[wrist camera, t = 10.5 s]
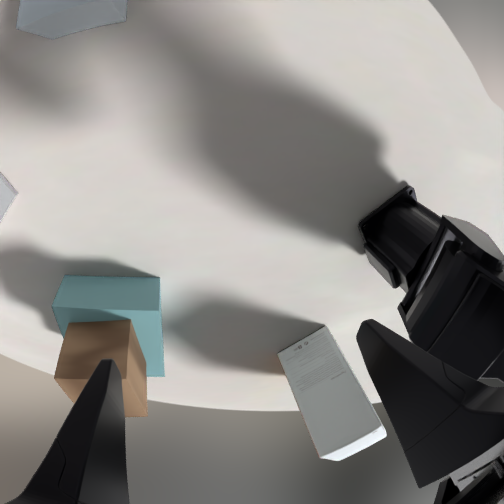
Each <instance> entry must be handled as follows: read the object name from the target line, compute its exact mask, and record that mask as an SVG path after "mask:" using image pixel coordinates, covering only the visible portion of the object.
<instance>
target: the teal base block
mask: <svg viewBox="0 0 504 504" xmlns="http://www.w3.org/2000/svg"><path fill="white" fill-rule="evenodd" d="M52 309H53V312H54V315H55V317H56V320H57V323H58V325H59V328H60V331H61V333H62V336H63V338H64V337H65V333H66V330H67V326H68V323H72V322H95V321H113V320H128V319H131V321H132V324H133V327H134V330H135V333H136V336H137V338H138V341H139V344H140V347H141V350H142V352H143V355H144V358H145V360H146V376H147V377H165V373H164V351H163V334H162V318H161V296H160V278H158V277H108V276H76V275H65V276H64V278H63V280H62V283H61V285H60V287H59V290H58V292H57V294H56V297H55V299H54V302H53V304H52Z"/></svg>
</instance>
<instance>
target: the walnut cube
mask: <svg viewBox="0 0 504 504" xmlns="http://www.w3.org/2000/svg"><path fill="white" fill-rule="evenodd" d="M109 358H111V359H113V360H114V361H115V363H116V365H117V367H118V369H119V371H120V373H121V378H122V391H123V402H124V412H125V417H145V416H148V415H147V414H148V413H147V376H146V360H145V358H144V355H143V352H142V350H141V347H140V344H139V341H138V338H137V336H136V333H135V330H134V327H133V324H132V321H131V319H128V320H113V321H95V322H72V323H68V326H67V330H66V333H65V337H64V340H63V344H62V347H61V351H60V355H59V359H58V363H57V367H56V371H55V376H54V379H55V380H56V382H57V383H58V384H59V386H60V387H61V388H62V389H63V391H64V392H65V393H66V394H67V396H68V397H69V398H70V399H71V400H72V402H74V404H75V402H76V400H77V398H78V397H79V395H80V393H81V392H82V390H83V388H84V386H85V385H86V383H87V381H88V380H89V378H90V377H91V375H92V373H93V372H94V370H95V368H96V367H97V365H98V364H99V362H100V360H102V359H109Z"/></svg>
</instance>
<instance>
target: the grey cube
mask: <svg viewBox="0 0 504 504" xmlns="http://www.w3.org/2000/svg"><path fill="white" fill-rule="evenodd" d="M127 3H128V0H21V1H20V6H19V12H18V18H17V25H16V29H18V30H22V31H25V32H29V33H32V34H36V35H39V36H42V37H46V38H49V39H52V40H53V39H56V38H59V37H62V36H65V35H69V34H72V33H76V32H79V31H83V30H87V29H91V28H95V27H99V26H104V25H109V24H114V23H119V22H125V21H126V13H127Z"/></svg>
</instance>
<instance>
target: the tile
mask: <svg viewBox="0 0 504 504" xmlns="http://www.w3.org/2000/svg"><path fill="white" fill-rule="evenodd" d="M17 195H18V192H17V191H16V190H15V189H14V188H13V187H12V185H11V184H10V183H9V182H8V181H7V180H6V178H5V177H4V176H3V175H2V174H1V172H0V223H1V221H2V219H3V217H4V216H5V214H6V212H7V211H8V209H9V207H10V206H11V204H12V202H13V201H14V199H15V198H16V196H17Z"/></svg>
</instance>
